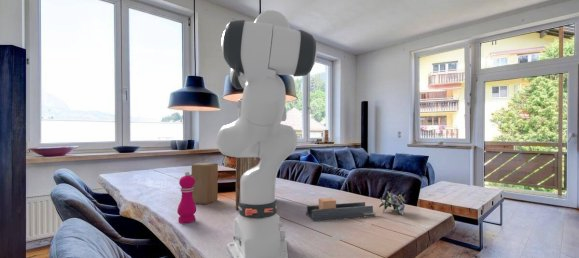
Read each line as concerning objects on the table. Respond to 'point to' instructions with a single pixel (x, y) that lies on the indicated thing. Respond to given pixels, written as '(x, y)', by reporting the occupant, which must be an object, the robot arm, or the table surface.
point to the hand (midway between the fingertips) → (262, 131)
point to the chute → (339, 211)
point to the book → (241, 168)
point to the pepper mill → (187, 200)
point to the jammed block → (327, 203)
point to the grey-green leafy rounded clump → (394, 203)
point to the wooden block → (205, 182)
